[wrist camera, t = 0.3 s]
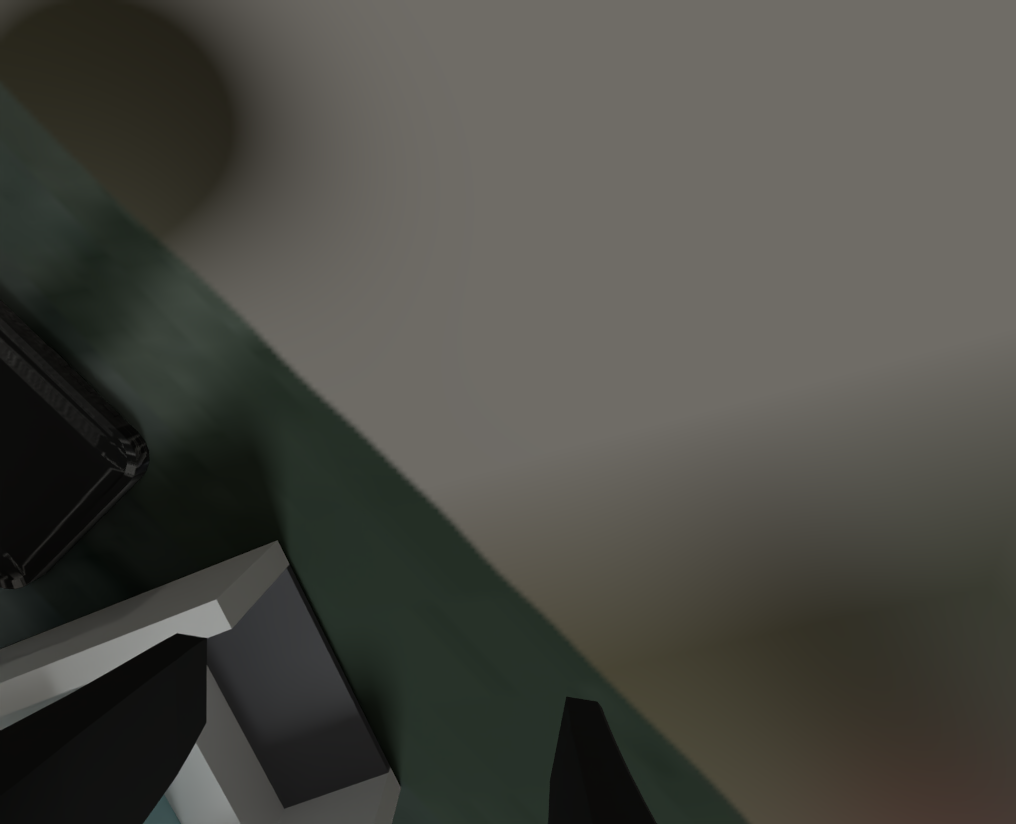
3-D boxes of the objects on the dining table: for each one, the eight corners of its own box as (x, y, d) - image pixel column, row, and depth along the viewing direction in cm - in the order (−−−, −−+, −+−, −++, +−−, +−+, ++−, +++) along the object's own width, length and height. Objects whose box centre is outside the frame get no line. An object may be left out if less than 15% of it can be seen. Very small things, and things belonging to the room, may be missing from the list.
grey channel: (-60, 945, 26) (-180, 1077, 22) (-206, 729, 24) (-367, 824, 20) (400, 787, 24) (372, 897, 20) (277, 540, 22) (216, 599, 18)
